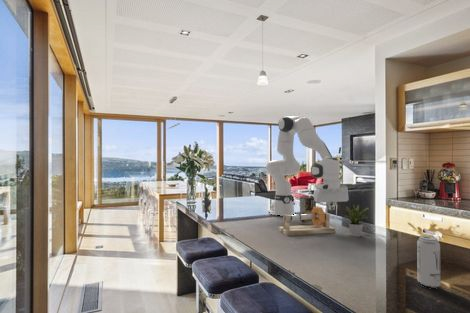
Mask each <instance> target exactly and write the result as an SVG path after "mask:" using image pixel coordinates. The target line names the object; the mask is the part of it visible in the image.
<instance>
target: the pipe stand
mask: <svg viewBox="0 0 470 313" xmlns="http://www.w3.org/2000/svg"><path fill="white" fill-rule="evenodd" d="M324 213H325V215H326V218H325V222H324V223H323V225H322V226H317V225H314V224H300V225H291V221H290V216H289V215H287V214H283V216H282V226H281V225H280V226H278V231H279V232H281V233H282V234H284V235H285V236H287V237H289V236H290V237H291V236H305V235H319V234H331V233H332V234H333V233H336V228H335V227H332V226H331V224H330V218H331V217H330V213H329V212H324ZM284 216H285V217H284ZM285 218H286V220H284V219H285Z"/></svg>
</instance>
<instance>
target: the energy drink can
mask: <svg viewBox="0 0 470 313" xmlns="http://www.w3.org/2000/svg"><path fill="white" fill-rule="evenodd" d="M438 240H439V239H438V238H437V237H435V236H432V235H419V238H418V239H417V240H416V241H417V242H416V247H417V248H416V252H417V253H416V258H417V259H416V260H417V261H416V262H417V263H416V267H417V272H416V274H417V275H416V276H417V282H418V283H419V282H420V283H421V284H423V285H425V286H431V287H438V288H439V287H440V286H441V243H440V242H439V241H438Z"/></svg>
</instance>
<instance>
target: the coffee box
mask: <svg viewBox="0 0 470 313" xmlns="http://www.w3.org/2000/svg"><path fill="white" fill-rule="evenodd" d="M316 205H317V202H315V201H314V196H299V214H311V211H312V209H313V207H317V206H316ZM299 224H300V225H312V224H314V223H313V221H312V219H307V220H299Z"/></svg>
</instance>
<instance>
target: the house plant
mask: <svg viewBox="0 0 470 313" xmlns="http://www.w3.org/2000/svg"><path fill="white" fill-rule="evenodd" d="M352 204H353V208H352V209H350V207H348V206H346V205H345V208H346V210H347V213H348V214H349V215H345V217H346V218H348V219H349V220H350V221H349V222H348V230H349V234H350V236H352V237H356V238H357V237H361V236H362V234H363V233H362V232H363V226H364V223H362V222H361V220H365V219H367V220H369V219H368V218H369V217H368V216H367V217H366V216H365V214H363V213H365V212H366V211H367V210H368V207H366V208H363V210H361V211H360V205H359V204H357V206H356V207H355V204H354V203H352ZM359 211H360V212H359Z"/></svg>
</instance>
